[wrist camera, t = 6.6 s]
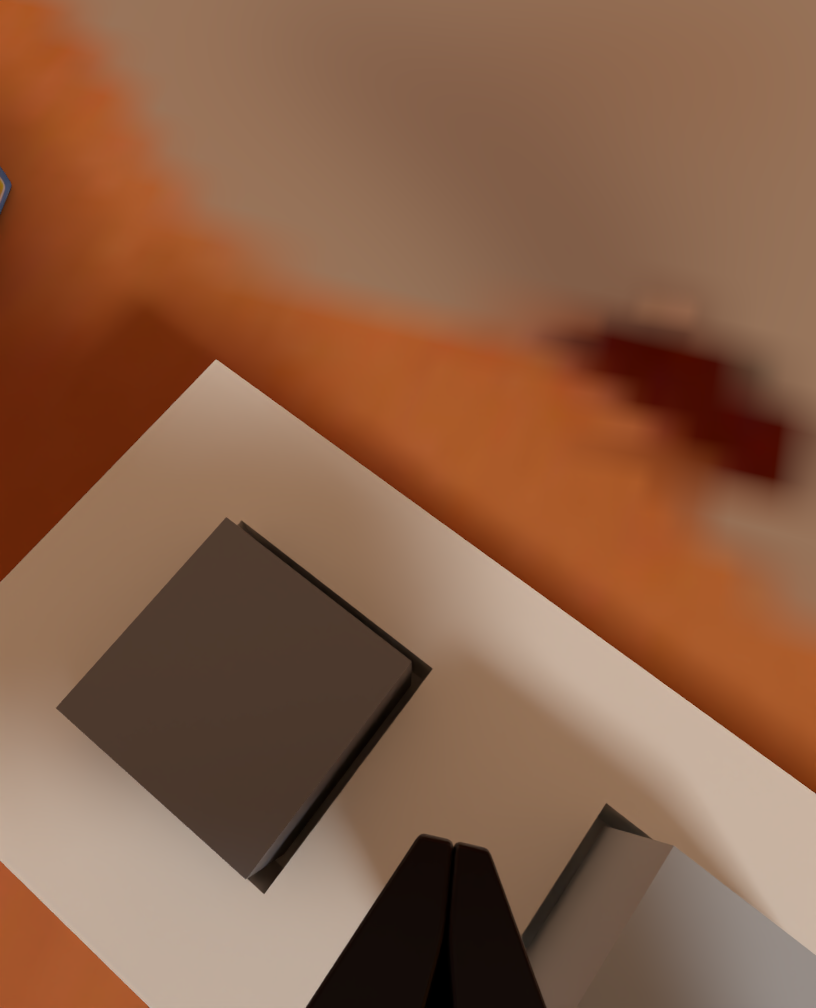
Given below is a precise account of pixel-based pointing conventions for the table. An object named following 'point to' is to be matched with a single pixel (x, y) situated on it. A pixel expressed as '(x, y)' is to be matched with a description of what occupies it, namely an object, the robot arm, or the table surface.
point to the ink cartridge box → (4, 188)
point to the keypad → (390, 752)
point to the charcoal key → (239, 697)
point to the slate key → (662, 937)
